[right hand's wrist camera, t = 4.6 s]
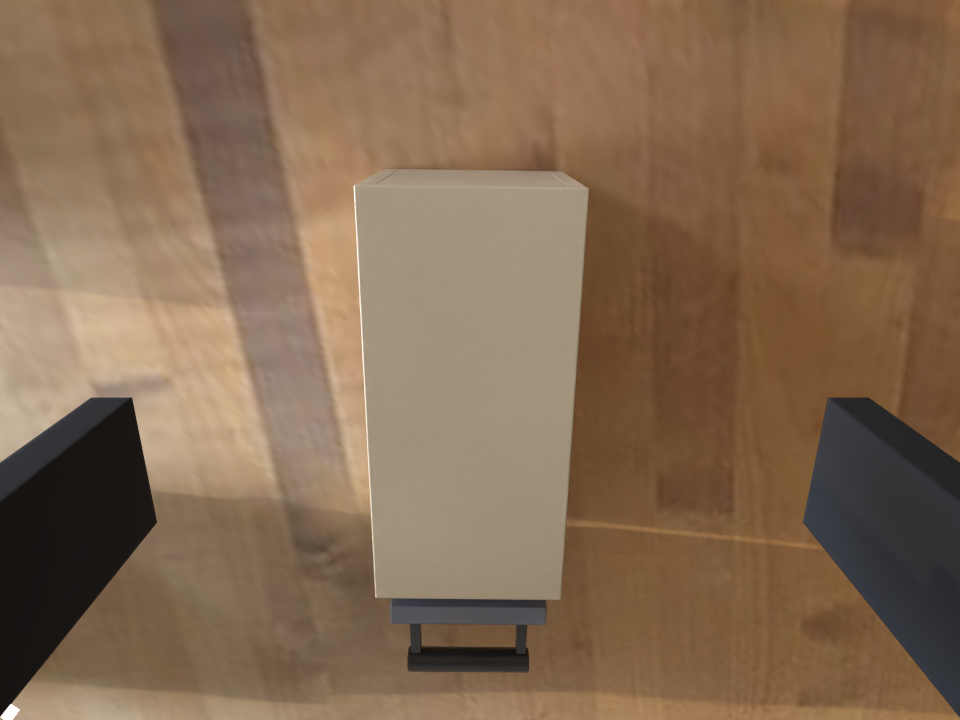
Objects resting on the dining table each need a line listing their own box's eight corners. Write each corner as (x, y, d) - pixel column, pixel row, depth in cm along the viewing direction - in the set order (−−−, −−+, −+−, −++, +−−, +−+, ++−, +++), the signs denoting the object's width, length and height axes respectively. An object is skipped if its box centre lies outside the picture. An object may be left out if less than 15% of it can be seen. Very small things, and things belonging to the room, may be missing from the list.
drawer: (531, 616, 45) (541, 706, 38) (407, 615, 45) (394, 704, 38) (550, 240, 36) (567, 269, 29) (394, 238, 36) (375, 267, 29)
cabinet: (544, 503, 43) (561, 600, 34) (396, 502, 43) (375, 598, 34) (563, 171, 36) (589, 188, 27) (383, 168, 36) (353, 185, 27)
